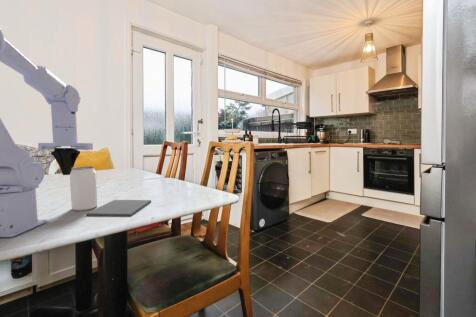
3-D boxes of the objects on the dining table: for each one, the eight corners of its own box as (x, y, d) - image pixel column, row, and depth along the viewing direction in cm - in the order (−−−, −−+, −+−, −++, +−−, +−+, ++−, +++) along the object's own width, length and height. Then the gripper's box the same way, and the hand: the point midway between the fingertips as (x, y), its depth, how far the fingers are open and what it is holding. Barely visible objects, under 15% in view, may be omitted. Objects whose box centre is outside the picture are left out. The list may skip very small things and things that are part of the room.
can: (85, 211, 66) (83, 169, 65) (66, 210, 67) (63, 168, 66) (102, 205, 72) (101, 166, 71) (84, 204, 74) (83, 166, 73)
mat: (131, 216, 63) (131, 213, 63) (86, 215, 63) (86, 213, 63) (151, 201, 77) (151, 200, 77) (114, 201, 77) (114, 199, 77)
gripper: (98, 128, 72) (100, 172, 73) (50, 128, 72) (53, 172, 73) (82, 127, 65) (85, 176, 66) (30, 127, 65) (33, 175, 66)
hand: (67, 174), depth 69 cm, fingers closed
